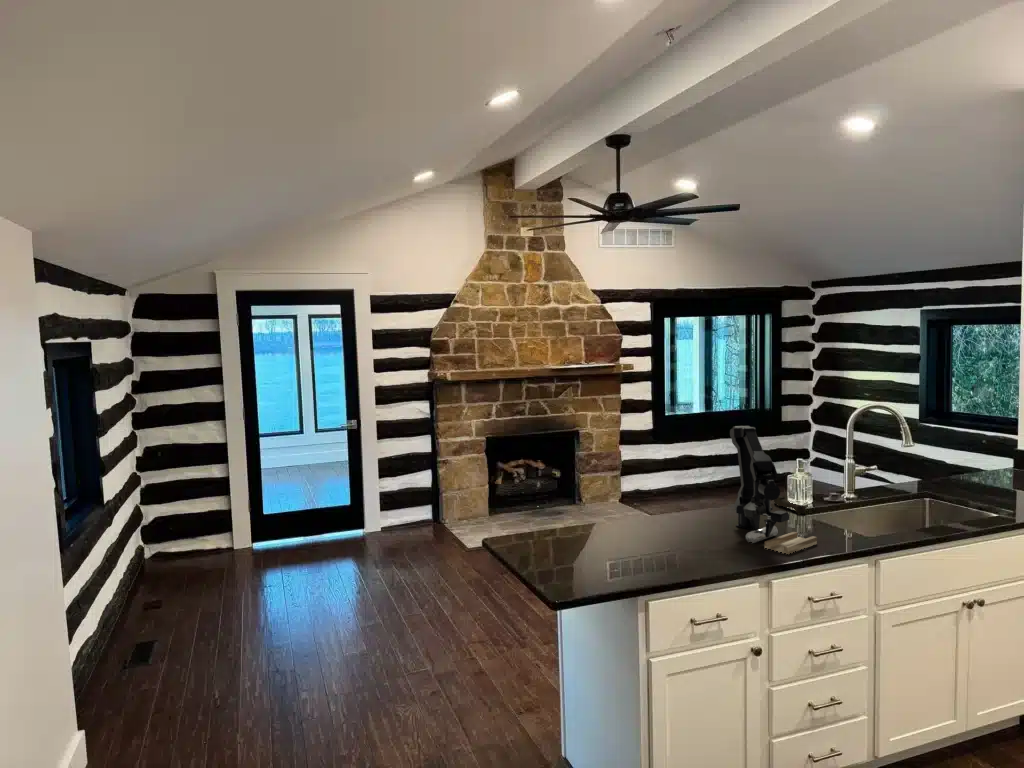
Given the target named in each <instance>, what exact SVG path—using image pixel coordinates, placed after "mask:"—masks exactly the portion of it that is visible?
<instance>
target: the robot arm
mask: <svg viewBox="0 0 1024 768" xmlns="http://www.w3.org/2000/svg"><path fill="white" fill-rule="evenodd" d="M729 436H730V438H731V442H732V444H733V446H735V448H736V449H737V459H738V468H739V469H738V470H739V476H740V488H739V490H738V492H737V497H736V499H735V502H734V510H735V514H738V515H737V518H738V519H737V520H738V521H737V523H738V524H735V527H737V528H741V527H742V528H741V529H745V528H747V529H746V530H753V531H755V530H758V529H760V521H761V516H763V517H767V518H766V519H764V520H763V522H764V523H765V527H766V537H769V535H770V533H771V531H772V529H773V527H774V526H776V524H777V523H784V522H787V521H790V514H789V512H788V511H784V510H776V511H773V509H774V508H773V507H772V506H771V501H774V500H775V499H777V498H778V497H779V495H780V496H781V489H780V487H779V486H778V485H777V484H776V483H775V481H776V480H777V481H778V472H777V469H776V466H775V464H774V462H773V461H772V458H771V457H770V455H768V454H767V453H765V452H764V450H763V449H764V448H763V447H762V444H761V442H760V440H759V437H758V435H757V429H756V427H755V426H750V425H735V426H734V425H733V426H732V428H731V429H729ZM752 528H753V529H752Z"/></svg>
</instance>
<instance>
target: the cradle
mask: <svg viewBox="0 0 1024 768" xmlns="http://www.w3.org/2000/svg"><path fill="white" fill-rule="evenodd" d="M817 540H818V537H817V536H814V535H812V536H809V537H807V538H805V537H801V536H798V532H796V531H791V532H789V533H786V534H783V535H779V536H776V537H773V538H771V539H768V540H766V541H764V549H765V548H767V549H766V550H768V549H771V550H770V551H772V550H774V551H773V552H776V551H778V552H777V553H780V552H782V553H781V554H784V553H786V554H785V555H787V554H788V555H790V553H791V554H794V553H796V552H799V551H801V549H802V550H804V548H805V549H807V548H810V547H813V546H815V545H818V543H817V542H818V541H817ZM795 551H796V552H795ZM793 552H794V553H793Z"/></svg>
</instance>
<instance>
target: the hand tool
mask: <svg viewBox="0 0 1024 768" xmlns="http://www.w3.org/2000/svg"><path fill="white" fill-rule="evenodd" d="M789 501H790V500H788V499H786V497H785V496H782V495H781V494H780V495H779V497H778V498H777V499H775V500H773V504H774V505H775V504H778V506H777V507H779V506H783V507H782V508H784V507H792V508H794V509H795V510H796V512H795V513H796V514H797V513H804V512H805V511H806V506H805V505H804V504H799V505H796V504H793V503H794V502H793V503H790V502H791V501H790V502H789ZM774 502H775V503H774ZM805 513H806V512H805ZM805 513H804V514H805Z"/></svg>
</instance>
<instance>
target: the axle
mask: <svg viewBox="0 0 1024 768" xmlns="http://www.w3.org/2000/svg"><path fill="white" fill-rule="evenodd" d="M778 534H779V530H778V527H777V526H776V525H774V527H773V529H772V531H771V533H770V535H769V537H766V526H763V527H762V528H759V529H758V530H755V531H754V530H751V531H749V532H747V533H746V534H745V540H746V542H747V543H749V542H752V543H751V544H755V543H759V542H761V541H764V540H767V539H770V538H774V537H777V535H778Z"/></svg>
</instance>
